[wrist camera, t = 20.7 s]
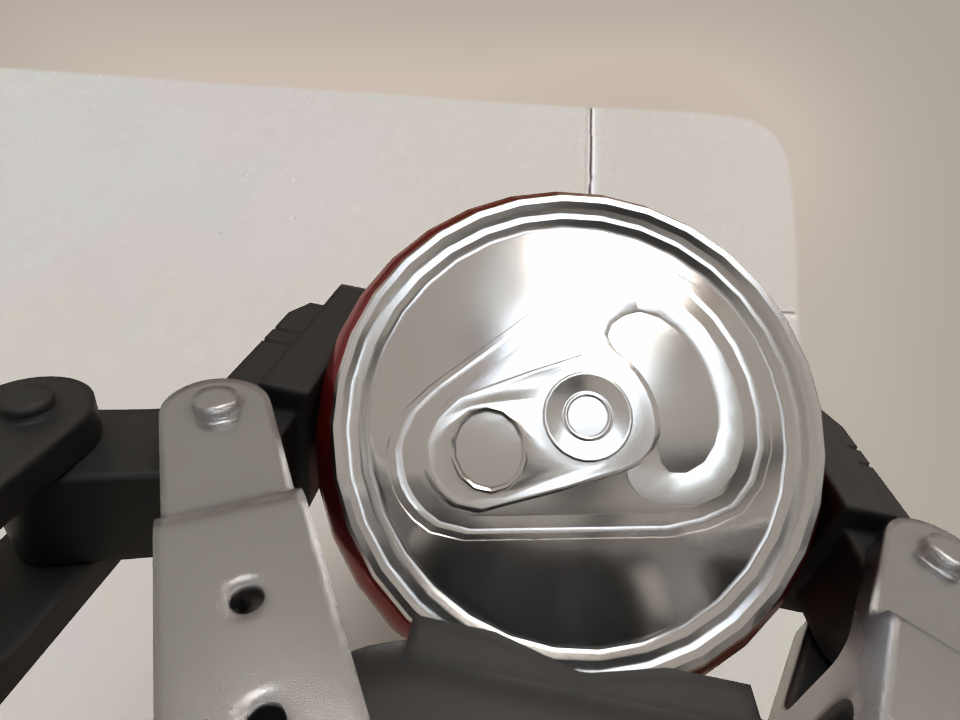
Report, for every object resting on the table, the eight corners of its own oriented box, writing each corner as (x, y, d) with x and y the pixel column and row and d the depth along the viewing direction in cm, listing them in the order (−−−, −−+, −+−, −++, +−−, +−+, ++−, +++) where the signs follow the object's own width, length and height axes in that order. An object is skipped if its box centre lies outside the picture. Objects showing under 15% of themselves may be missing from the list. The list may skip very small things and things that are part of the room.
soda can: (575, 338, 20) (744, 129, 8) (634, 539, 18) (946, 636, 7) (381, 383, 19) (261, 225, 7) (425, 594, 18) (359, 813, 6)
